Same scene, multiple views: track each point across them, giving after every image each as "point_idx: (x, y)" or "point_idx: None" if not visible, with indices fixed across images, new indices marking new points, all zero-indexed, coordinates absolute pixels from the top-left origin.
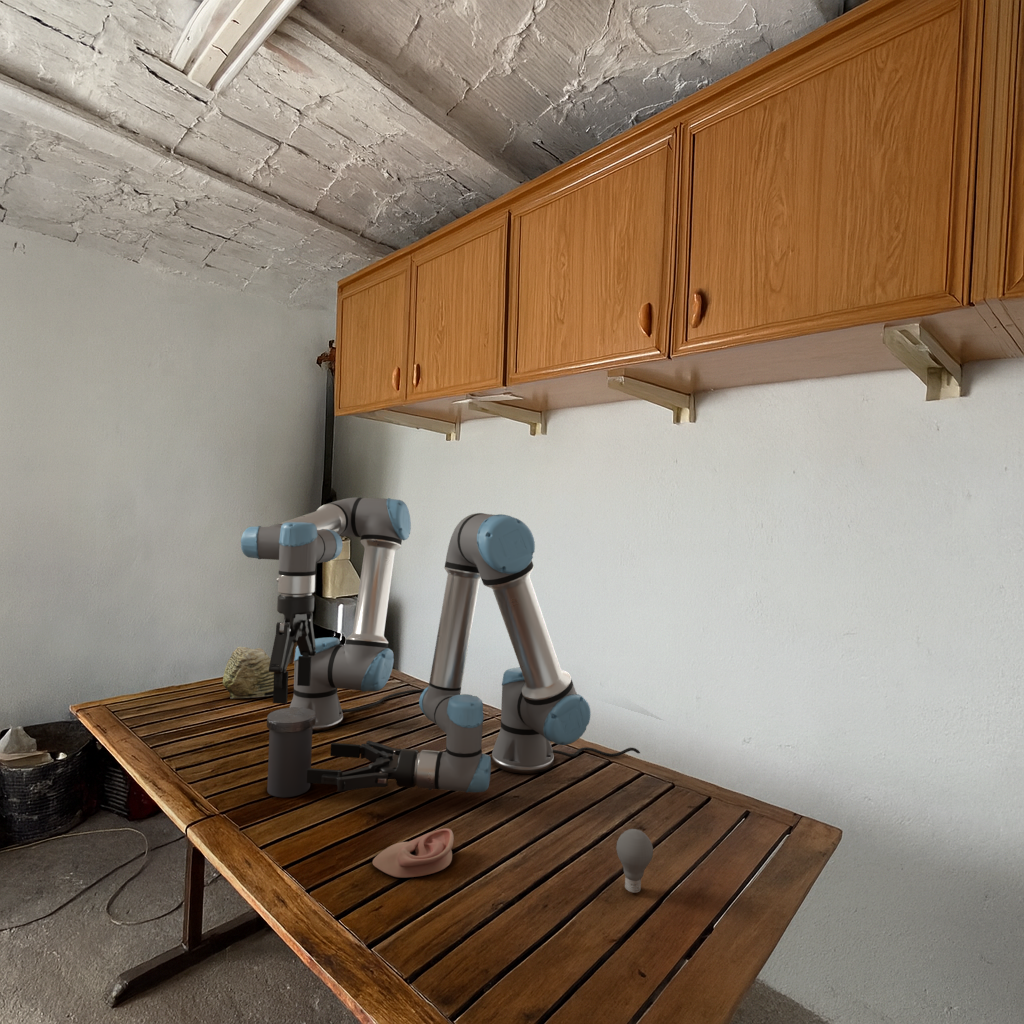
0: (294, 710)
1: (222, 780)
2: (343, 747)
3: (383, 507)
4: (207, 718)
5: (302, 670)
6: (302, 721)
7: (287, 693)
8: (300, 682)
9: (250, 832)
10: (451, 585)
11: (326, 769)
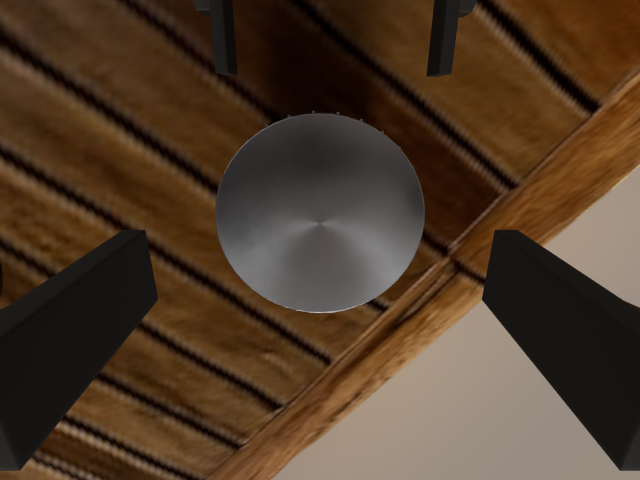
0: (262, 234)
1: (307, 315)
2: (225, 19)
3: None
4: (31, 471)
5: (97, 332)
6: (394, 143)
7: (526, 252)
8: (145, 292)
9: (528, 161)
10: None
11: (446, 2)
